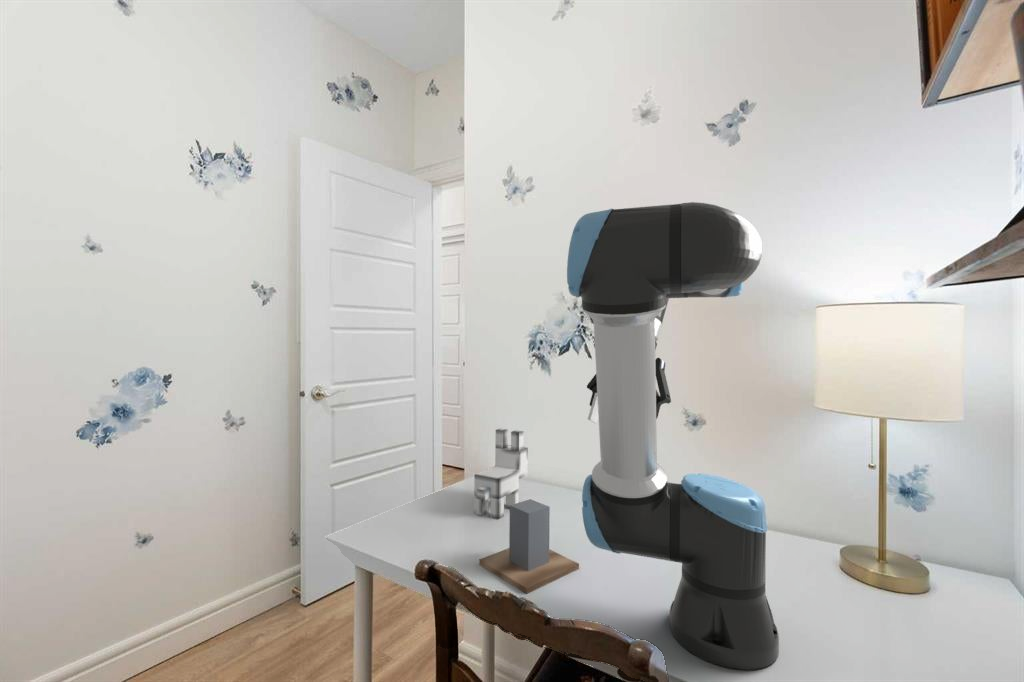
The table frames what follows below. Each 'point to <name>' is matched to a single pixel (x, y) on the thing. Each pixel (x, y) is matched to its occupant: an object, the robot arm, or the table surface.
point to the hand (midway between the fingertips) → (617, 426)
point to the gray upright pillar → (529, 534)
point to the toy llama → (502, 475)
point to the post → (525, 578)
